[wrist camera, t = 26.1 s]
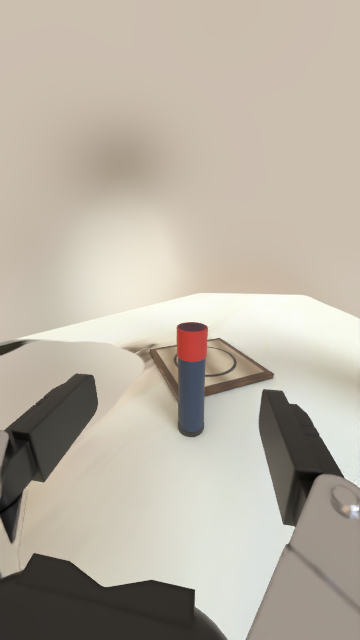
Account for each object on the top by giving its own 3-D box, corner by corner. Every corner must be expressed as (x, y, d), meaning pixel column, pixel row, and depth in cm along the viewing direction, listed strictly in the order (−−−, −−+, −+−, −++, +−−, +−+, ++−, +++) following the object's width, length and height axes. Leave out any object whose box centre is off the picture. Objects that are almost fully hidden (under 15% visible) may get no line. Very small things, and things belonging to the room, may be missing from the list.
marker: (197, 414, 26) (199, 320, 22) (208, 432, 23) (213, 329, 19) (174, 420, 25) (172, 323, 21) (183, 440, 22) (183, 334, 18)
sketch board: (219, 341, 47) (219, 337, 47) (273, 378, 33) (274, 372, 33) (149, 352, 42) (149, 348, 41) (178, 403, 27) (178, 397, 27)
